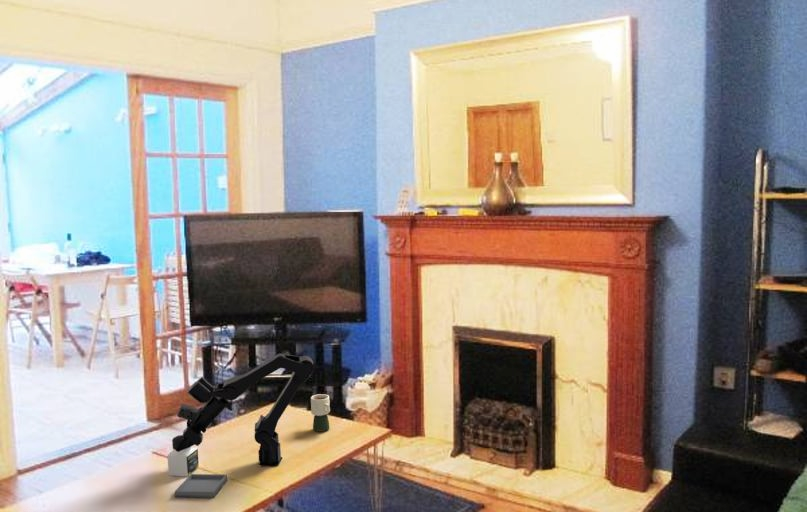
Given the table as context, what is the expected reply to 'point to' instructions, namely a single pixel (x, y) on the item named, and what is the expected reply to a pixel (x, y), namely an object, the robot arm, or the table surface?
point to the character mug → (320, 411)
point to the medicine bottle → (182, 459)
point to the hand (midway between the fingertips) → (177, 447)
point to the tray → (201, 486)
